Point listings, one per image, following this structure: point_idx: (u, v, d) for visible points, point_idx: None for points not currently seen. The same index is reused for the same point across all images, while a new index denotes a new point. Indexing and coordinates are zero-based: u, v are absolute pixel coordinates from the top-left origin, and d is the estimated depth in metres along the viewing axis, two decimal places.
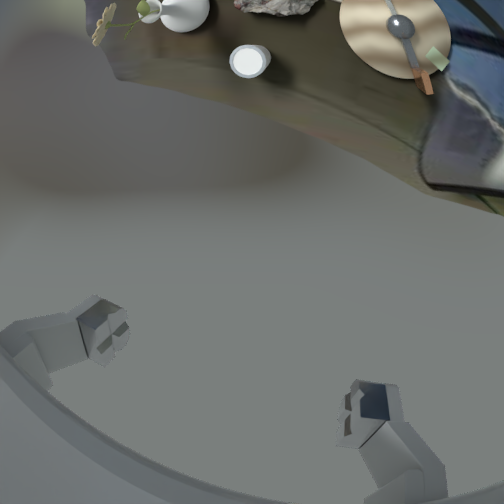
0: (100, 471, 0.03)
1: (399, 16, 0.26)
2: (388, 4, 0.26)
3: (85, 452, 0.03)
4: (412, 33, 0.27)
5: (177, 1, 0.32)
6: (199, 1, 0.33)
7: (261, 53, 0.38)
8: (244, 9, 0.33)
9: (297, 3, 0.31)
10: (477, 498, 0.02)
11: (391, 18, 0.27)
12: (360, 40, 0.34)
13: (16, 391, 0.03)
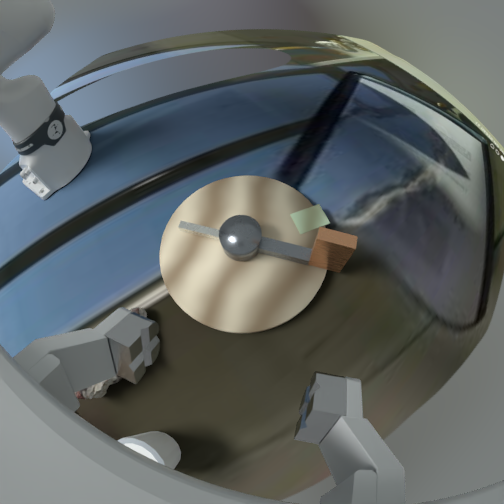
0: (100, 471, 0.03)
1: (224, 226, 0.32)
2: (204, 232, 0.34)
3: (85, 452, 0.03)
4: (256, 225, 0.32)
5: None
6: None
7: (139, 442, 0.20)
8: (87, 394, 0.25)
9: None
10: (477, 498, 0.02)
11: (221, 239, 0.31)
12: (231, 310, 0.31)
13: (16, 392, 0.03)
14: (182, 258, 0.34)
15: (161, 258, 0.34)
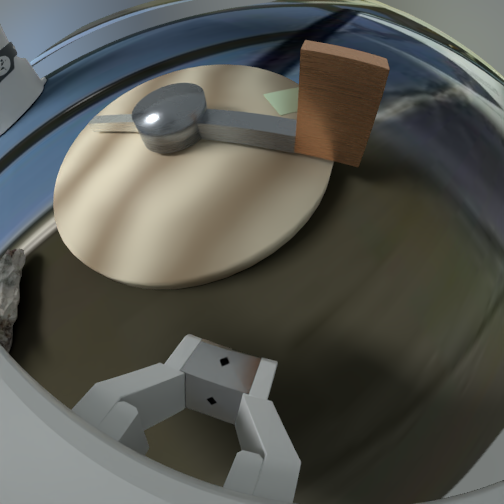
0: (100, 471, 0.03)
1: (145, 99, 0.15)
2: (120, 120, 0.17)
3: (85, 452, 0.03)
4: (197, 89, 0.15)
5: None
6: None
7: None
8: None
9: None
10: (477, 498, 0.02)
11: (134, 114, 0.15)
12: (136, 238, 0.14)
13: (16, 392, 0.03)
14: (84, 166, 0.17)
15: (60, 171, 0.18)
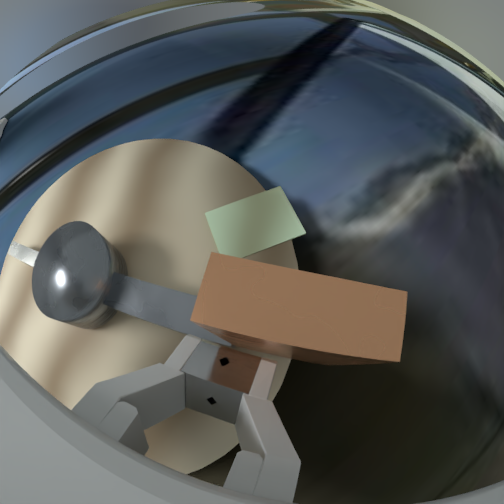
0: (100, 471, 0.03)
1: (43, 251, 0.11)
2: (32, 262, 0.12)
3: (85, 452, 0.03)
4: (95, 244, 0.11)
5: None
6: None
7: None
8: None
9: None
10: (477, 498, 0.02)
11: (34, 281, 0.10)
12: None
13: (16, 392, 0.03)
14: (15, 307, 0.13)
15: None
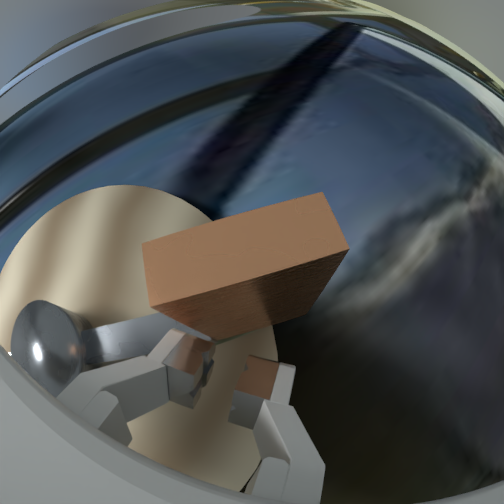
0: (100, 471, 0.03)
1: (14, 346, 0.09)
2: None
3: (85, 452, 0.03)
4: (53, 314, 0.09)
5: None
6: None
7: None
8: None
9: None
10: (477, 498, 0.02)
11: None
12: None
13: (16, 391, 0.03)
14: None
15: None
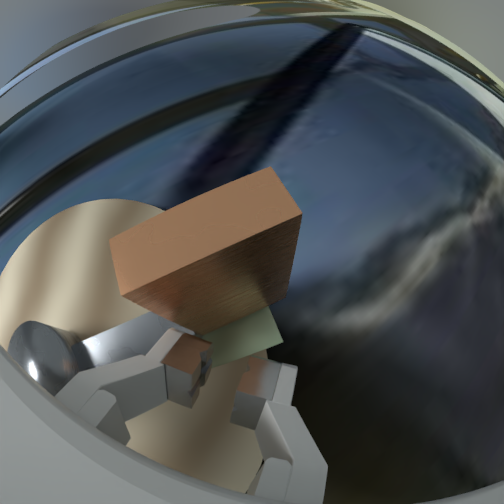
0: (100, 471, 0.03)
1: None
2: None
3: (85, 452, 0.03)
4: (43, 332, 0.09)
5: None
6: None
7: None
8: None
9: None
10: (477, 498, 0.02)
11: None
12: None
13: (16, 391, 0.03)
14: None
15: None
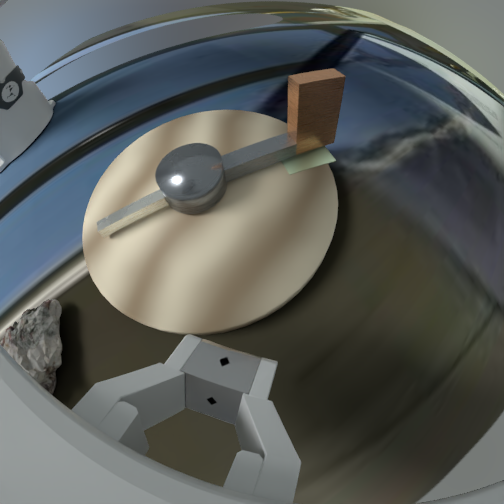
0: (100, 471, 0.03)
1: (160, 174, 0.18)
2: (137, 208, 0.19)
3: (85, 452, 0.03)
4: (201, 146, 0.19)
5: None
6: None
7: None
8: None
9: (32, 345, 0.15)
10: (477, 498, 0.02)
11: (168, 189, 0.18)
12: (169, 294, 0.17)
13: (16, 392, 0.03)
14: None
15: (86, 219, 0.21)
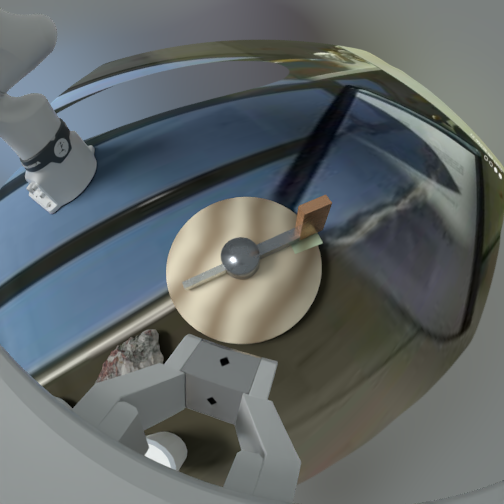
0: (100, 471, 0.03)
1: (224, 258, 0.35)
2: (209, 275, 0.36)
3: (85, 452, 0.03)
4: (246, 240, 0.36)
5: None
6: None
7: (151, 442, 0.23)
8: None
9: (143, 359, 0.31)
10: (477, 498, 0.02)
11: (230, 269, 0.34)
12: (232, 324, 0.34)
13: (16, 391, 0.03)
14: (187, 276, 0.37)
15: (168, 275, 0.37)
